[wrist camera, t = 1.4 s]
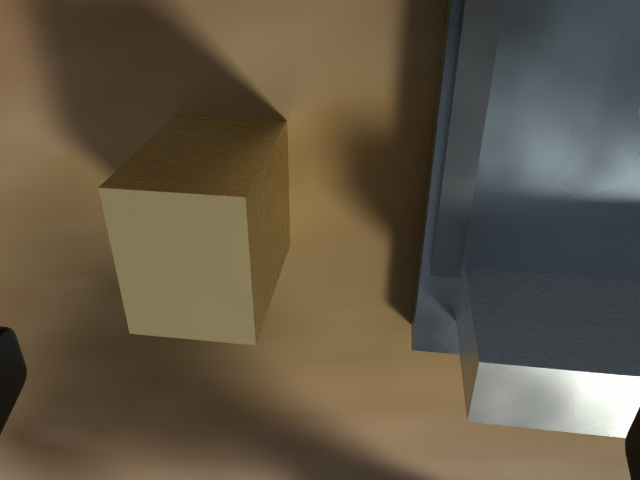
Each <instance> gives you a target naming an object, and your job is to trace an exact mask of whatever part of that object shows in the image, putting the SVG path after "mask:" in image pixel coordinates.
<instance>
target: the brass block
mask: <svg viewBox="0 0 640 480" xmlns="http://www.w3.org/2000/svg"><path fill="white" fill-rule="evenodd" d="M98 189H99V194H100V199H101V203H102V208H103V213H104V217H105V222H106V227H107V231H108V236H109V240H110V245H111V250H112V254H113V259H114V264H115V268H116V273H117V277H118V282H119V287H120V291H121V296H122V301H123V305H124V310H125V315H126V319H127V324H128V328H129V333H130V334H138V335H149V336H160V337H171V338H182V339H192V340H203V341H214V342H225V343H235V344H246V345H256V344H257V341H258V338H259V335H260V332H261V329H262V326H263V323H264V320H265V317H266V314H267V311H268V308H269V305H270V302H271V299H272V296H273V293H274V291H275V288H276V285H277V282H278V279H279V276H280V273H281V270H282V267H283V264H284V261H285V258H286V255H287V252H288V249H289V246H290V212H289V174H288V136H287V121H284V120H263V119H243V118H222V117H202V116H181V115H176V116H175V117H173V118H172V119H171V120H170V121H169V122H168V123H167V124H166V125H165V126H164V127H163V128H162V129H161V130H160V131H158V132H157V133H156V134H155V135H154V136H153V137H152V138H151V139H150V140H149V141H148V142H147V143H146V144H145V145H143V146H142V147H141V148H140V149H139V150H138V151H137V152H136V153H135V154H134V155H133V156H132V157H131V158H130V159H128V160H127V161H126V162H125V163H124V164H123V165H122V166H121V167H120V168H119V169H118V170H117V171H116V172H115V173H113V174H112V175H111V176H110V177H109V178H108V179H107V180H106V181H105V182H104V183H103V184H102V185H101V186H100V187H98Z"/></svg>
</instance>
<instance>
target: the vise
mask: <svg viewBox="0 0 640 480" xmlns="http://www.w3.org/2000/svg"><path fill="white" fill-rule="evenodd" d="M411 331H412V350H417V351H428V352H439V353H450V354H460V361H461V370H462V379H463V387H464V396H465V405H466V414H467V422H476V423H486V424H495V425H505V426H515V427H524V428H534V429H544V430H553V431H563V432H573V433H582V434H592V435H601V436H611V437H621V438H626V436H627V433H628V431H629V428H630V426H631V424H632V422H633V420H634V418H635V416H636V413H637V411H638V409H639V407H640V0H447V9H446V18H445V27H444V36H443V45H442V54H441V64H440V73H439V82H438V91H437V100H436V109H435V118H434V127H433V136H432V145H431V154H430V163H429V172H428V181H427V190H426V199H425V208H424V217H423V226H422V235H421V244H420V253H419V262H418V271H417V280H416V289H415V298H414V307H413V316H412V325H411Z"/></svg>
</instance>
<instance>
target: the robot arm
mask: <svg viewBox="0 0 640 480" xmlns="http://www.w3.org/2000/svg"><path fill="white" fill-rule="evenodd" d="M26 374H27V370H26V364H25V361H24V358H23V355H22V352H21V349H20V346H19V343H18V340H17V337H16V334H15V332H14V331H13V330H12V329H11V328H8V327H3V326H0V434H1V432H2V430H3V428H4V426H5V424H6V422H7V419H8V417H9V415H10V413H11V411H12V409H13V407H14V405H15V403H16V400H17V398H18V396H19V394H20V392H21V390H22V388H23V386H24V383H25V380H26ZM625 452H626V457H627V462H628V467H629V472H630V476H631V480H640V407H639V409H638V411H637V413H636V416H635V418H634V420H633V422H632V424H631V426H630V428H629V431H628V433H627V436H626V440H625Z"/></svg>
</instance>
